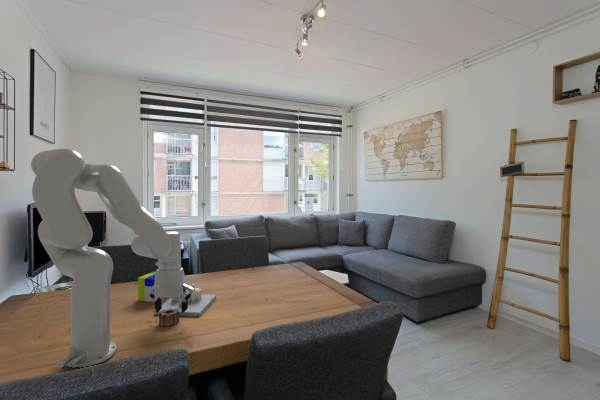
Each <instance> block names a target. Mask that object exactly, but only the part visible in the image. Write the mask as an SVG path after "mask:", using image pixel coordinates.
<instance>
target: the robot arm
mask: <svg viewBox="0 0 600 400" xmlns="http://www.w3.org/2000/svg"><path fill="white" fill-rule="evenodd" d="M30 166H31V167H30V168H31V170H32V172H33V174H35V177H34V181H33V183H32V188H31V189H32V190H31V194H32V200H33V202H34V205H35V207H36V209H37V211H38V213H39V215H40V217H41V219H42V220H41V222H39V225H38V229H37V235H38V239H39V241H40V243H41V244H42V247H43V248H44V250H45V251H46V253H47V255H48V256H49V258H50V260H51V261H52V263H53V265H54V266H55V268H57V270H58V271H59V272H60V273H61V274H63V275H64V276H67V277H69V278H72V286H71V288H70V289H71V290H70V294H69V295H70V296H69V315H70V318H69V319H70V320H69V321H70V325H69V327H70V347H69V348H68V350H67V354H66V355H65V356H64V357H63V358H61V359H60V360H58V361H57V362H56V367H57V368H58V369H62V368H64V367H65V366H66V367H67V368H71V367H72V369H77V368H76V367H79V368H78V369H80V368H81V367H82V366H84V367H83V368H87V367H86V366H88V367H91V366H95V365H98V364H101V363H103V362H105V361H107V360H108V359H111V357H113V356H114V355H115V354H116V352H117V349H118V347H117V344H116V343H115V342H114V341H112V340H111V338H112V337H111V336H112V335H111V334H112V333H111V282H112V276H113V271H114V263H113V259H112V257H111V255H110V254H108V253H107V252H106V251H105V250H103V249H101V248H95V247H92V246H88V245H89V243H91V241H92V239H93V236H94V235H93V229H92V225H91V224H90V222H89V220H88V218H87V217H86V215H85V213H84V211H83V209H82V207H81V205H80V203H79V201H78V199H77V195H76V193H75V192H76V191H75V189H77V190H81V191H85V192H91V193H97V195H98V196H99V198H100V199H101V201H102V202H103V204H104V206H105V207H106V208H107V210H108V211H109V213H110V214H111V216H112V217H113V219H114V220H115V221H117V222H118V223H120V224H121V225H123V226H124V227H127V228H129V229H130V230H132V231H133V232H134V233H136V234H137V236H136V237H134V238H133V239H132V241H131V244H130V245H131V246H130V247H131V248H130V249H131V250H132V252H133V253H135V254H136V255H138V256H141V257H146V258H151V259H155V260H157V261H156V262H155V264H154V265H155V267H158V268H157V269H156V270H155V272H156V275H155V283H154V286H152V287H150V288H148V289H147V291H148V293H149V294H150V297H151V298H152V299H153V301H154V302H153V303H154V309H155V310H156V312H158V311H160V310H161V309H162V305H163V302H162V301H163V300H162V299H161V298H166V299H170V298H179V297H180V299H181V300H182V302H181V310H182V313H184V312H185V311H186V310H187V309H188V299H189V298H190V297H191V296H192V294H193V292H194V290H195V289H194V288H192V287H191V285H188V284H187V283H186V276H185V271H184V268H183V267H182V259H181V255H182V254H181V253H182V252H181V235H180V232H178V231H175V230H168V231H166V230H165V228H164V226H162V224H161V223H160V221H158V219H156V217H155V216H153V215H152V214H151V213H150V212H149V211H148V209H146V208H145V207H144V206H143V205H142V204H141V203H140V201H139V199H138V198H137V196H136V195H135V193H134V191H133V190H132V187H131V186H130V185H129V183H128V181H127V179H126V177H125V176H124V175H123V173H122V171H121V170H120V169H119V168H118V167H117V166H114V165H111V164H92V163H88V162H85V160H84V158H83V156H82V155H81V154H80V153H79V152H77V151H76V150H73V149H71V148H70V149H69V148H57V149H49V150H43V151H40V152H38V153H37V154H35V155H34V156H33V157H32V159H31V162H30ZM153 289H154V292H153ZM186 290H188V291H189V294H188V295H187V294H186V293H185V292H186ZM81 369H82V368H81Z"/></svg>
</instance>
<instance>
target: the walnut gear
mask: <svg viewBox="0 0 600 400" xmlns="http://www.w3.org/2000/svg"><path fill="white" fill-rule="evenodd" d="M158 317H159V318H158V321H159V322H158V324H159V325H160V327H169V328H170V327H171V326H175V325H177V324H178V323H179V322H180V316H179V310H177V309H176V308H175V309H171V308H169V309H167V310H162V312H159V315H158Z"/></svg>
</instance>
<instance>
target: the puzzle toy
mask: <svg viewBox="0 0 600 400" xmlns="http://www.w3.org/2000/svg"><path fill="white" fill-rule="evenodd" d="M155 275H156V271H151V272H149V273H147V274H143V275H142V276H139V277H138V278H137V301H141V302H150V303H155V302H154V301H153V299H152V298H151V297H150V294H149V293H148V291H147V289H148V288H150V287H152V286H154V283H155ZM153 292H154V289H153ZM161 299H162V301H164V300H166V299H167V298H161Z"/></svg>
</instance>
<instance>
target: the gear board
mask: <svg viewBox="0 0 600 400" xmlns="http://www.w3.org/2000/svg"><path fill="white" fill-rule="evenodd" d="M190 287H192V288H194V289H195V290H194V292H193V294H192V296H191V297H190V298H189V299H188V309H187V310H186V311H185V312H184V313H182V310H181V302H182V300H181V299H180V297H179V298H168V300H166V301H165V302H164V303H162V309H161V310H160V311H158V312H156V309H155V310H153V312H154V313H153V314H154V315H155V316H156V315H157V316H159V312H162V310H167V309H169V308H171V309H175V308H176V309H177V310H179V317H200V316H202V314H203V313H204V312H206V311H207V309H208V308H209V307H210V306H211V304H212V303H213V302H214V301H215V300H216V299H217V294H206V293H205V294H203V293H202V288H200V287H196V283H191V285H190ZM185 293H186V294H187V295H188V294H189V291H188V290H186V292H185Z"/></svg>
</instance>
